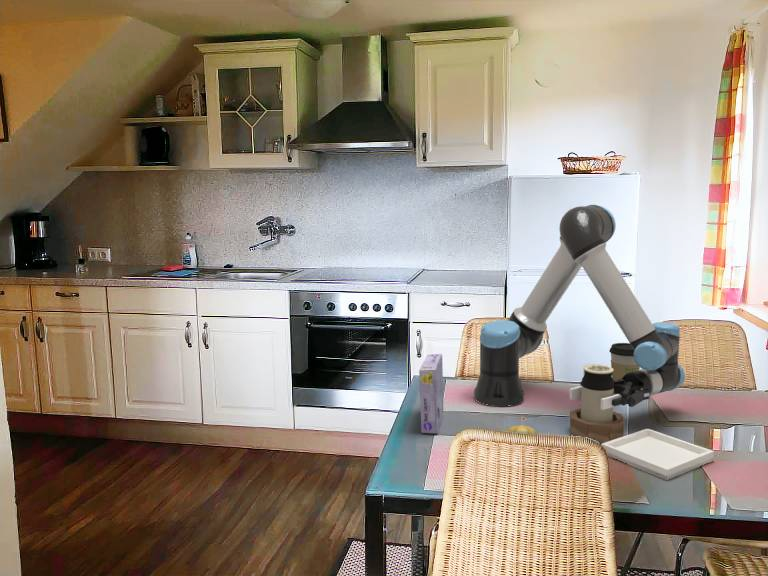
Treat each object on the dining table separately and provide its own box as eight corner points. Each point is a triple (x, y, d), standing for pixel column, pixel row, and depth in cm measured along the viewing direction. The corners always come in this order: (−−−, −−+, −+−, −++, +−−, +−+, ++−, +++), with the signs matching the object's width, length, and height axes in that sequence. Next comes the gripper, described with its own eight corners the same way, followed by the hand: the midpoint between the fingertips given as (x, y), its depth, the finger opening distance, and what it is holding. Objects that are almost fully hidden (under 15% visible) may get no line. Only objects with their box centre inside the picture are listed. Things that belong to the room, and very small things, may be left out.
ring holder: (559, 432, 178) (560, 414, 177) (592, 422, 185) (593, 404, 184) (599, 447, 167) (600, 428, 166) (632, 436, 174) (633, 418, 173)
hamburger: (504, 473, 153) (504, 423, 151) (503, 460, 160) (504, 412, 158) (538, 475, 152) (539, 425, 150) (536, 462, 159) (538, 414, 157)
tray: (600, 453, 164) (601, 443, 163) (647, 437, 173) (647, 428, 173) (666, 480, 149) (667, 469, 148) (713, 461, 158) (714, 451, 158)
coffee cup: (643, 398, 204) (645, 350, 202) (609, 396, 206) (611, 349, 204) (638, 388, 213) (640, 342, 211) (605, 387, 215) (607, 341, 213)
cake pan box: (427, 410, 196) (427, 351, 193) (444, 411, 195) (445, 352, 192) (418, 434, 178) (418, 370, 175) (437, 435, 177) (437, 370, 174)
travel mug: (618, 438, 173) (621, 370, 170) (591, 441, 171) (593, 373, 168) (600, 427, 181) (602, 362, 178) (574, 430, 179) (576, 365, 176)
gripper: (676, 408, 175) (621, 425, 163) (607, 387, 194) (552, 401, 182) (678, 380, 174) (622, 396, 162) (608, 361, 193) (553, 374, 181)
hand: (585, 399), depth 172 cm, fingers open, 9 cm apart
